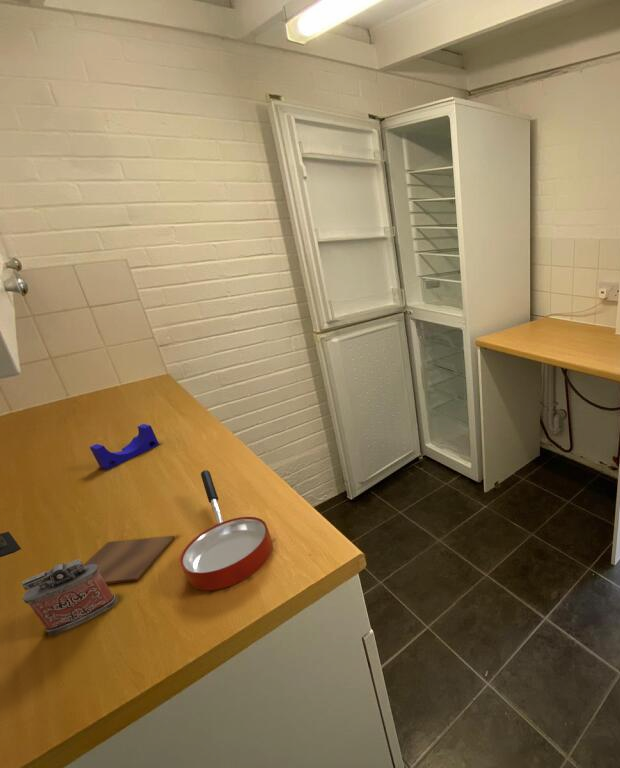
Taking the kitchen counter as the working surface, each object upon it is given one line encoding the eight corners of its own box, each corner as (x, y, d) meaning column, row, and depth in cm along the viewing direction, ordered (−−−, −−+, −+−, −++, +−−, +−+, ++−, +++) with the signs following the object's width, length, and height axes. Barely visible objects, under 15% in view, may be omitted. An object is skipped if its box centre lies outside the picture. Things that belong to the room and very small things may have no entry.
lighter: (116, 593, 69) (89, 548, 65) (117, 606, 67) (89, 560, 63) (48, 624, 64) (14, 577, 60) (46, 639, 62) (11, 592, 58)
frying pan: (163, 514, 87) (151, 490, 84) (233, 485, 95) (224, 461, 93) (198, 606, 66) (184, 578, 64) (284, 558, 75) (274, 531, 72)
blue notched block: (148, 442, 115) (140, 423, 113) (159, 444, 114) (150, 425, 111) (96, 466, 105) (85, 446, 102) (107, 469, 103) (96, 449, 101)
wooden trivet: (62, 588, 71) (61, 586, 70) (109, 544, 80) (107, 542, 79) (138, 580, 72) (136, 578, 71) (175, 538, 81) (174, 535, 80)
